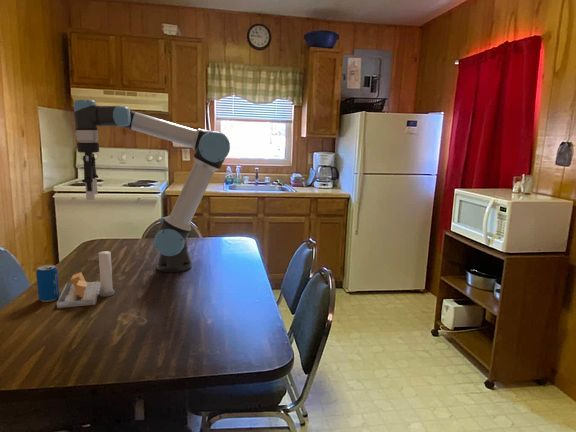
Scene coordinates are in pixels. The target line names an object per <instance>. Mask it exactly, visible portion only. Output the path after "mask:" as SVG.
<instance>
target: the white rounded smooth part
mask: <svg viewBox="0 0 576 432" xmlns="http://www.w3.org/2000/svg"><path fill="white" fill-rule="evenodd" d="M111 255H112V254H111V251H109V250H105V251H100V252H98V265H99V267H98V268H99V280H100V285H101V287H100V290H99V294H98V296H100V297H101V298H106V297H112V296H114V295H115V291H116V290H114V289H113V287H114V286H113V273H112V272H113V270H112V256H111Z"/></svg>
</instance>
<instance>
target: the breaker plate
mask: <svg viewBox="0 0 576 432" xmlns="http://www.w3.org/2000/svg"><path fill="white" fill-rule="evenodd" d="M87 282H88V283H87V286H86V289H85V292H84V294H83V297H79V298H76V296H73V295H74V292H75V287H74V285H73V283H65V285H64V287H63V289H62V291H61V293H60V294H59V297H58V298H57V300H56V308H57V309H60V308H62V309H63V308H73V307H74V308H75V307H82V306H83V307H84V306H94V305H97V302H98V301H97V300H98V297H99V292H100V291H101V284H100V281H91V282H89V281H87Z"/></svg>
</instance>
